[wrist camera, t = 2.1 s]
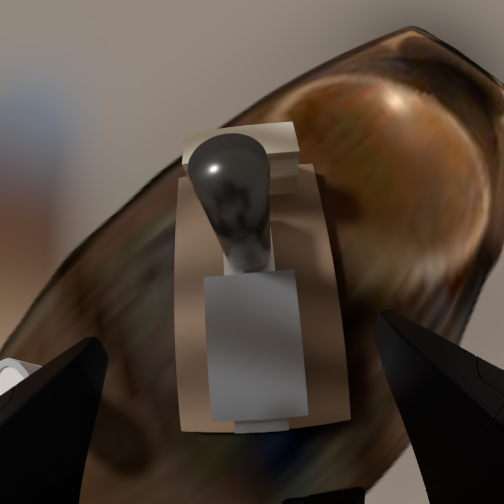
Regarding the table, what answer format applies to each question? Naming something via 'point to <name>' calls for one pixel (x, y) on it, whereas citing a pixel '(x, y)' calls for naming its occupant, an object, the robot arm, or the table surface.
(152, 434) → the table surface
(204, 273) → the base
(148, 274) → the table surface
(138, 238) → the table surface
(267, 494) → the table surface
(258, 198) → the dark knobbed lever handle
